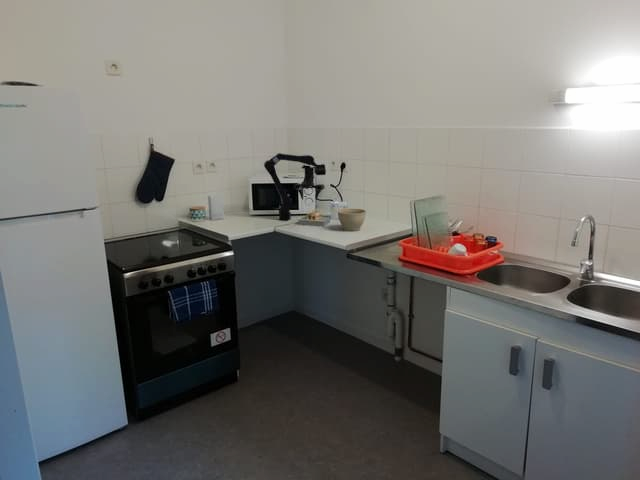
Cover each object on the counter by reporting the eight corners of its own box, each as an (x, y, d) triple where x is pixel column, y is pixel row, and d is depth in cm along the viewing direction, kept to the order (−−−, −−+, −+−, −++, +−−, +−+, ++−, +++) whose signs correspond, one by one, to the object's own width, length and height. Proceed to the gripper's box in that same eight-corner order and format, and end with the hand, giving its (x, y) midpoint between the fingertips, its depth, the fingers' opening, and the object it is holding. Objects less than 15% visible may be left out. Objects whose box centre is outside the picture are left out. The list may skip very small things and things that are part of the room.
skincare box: (221, 217, 322) (220, 193, 318) (224, 219, 316) (223, 195, 313) (208, 218, 318) (207, 194, 314) (211, 220, 313) (210, 196, 309)
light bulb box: (347, 217, 321) (347, 201, 318) (347, 219, 314) (347, 203, 311) (331, 217, 322) (331, 201, 319) (330, 219, 315) (330, 202, 312)
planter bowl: (345, 225, 298) (345, 207, 295) (370, 228, 290) (370, 210, 287) (332, 230, 284) (332, 211, 282) (357, 233, 276) (358, 214, 274)
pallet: (306, 219, 299) (306, 213, 298) (312, 216, 308) (312, 210, 307) (316, 220, 297) (316, 213, 296) (321, 217, 306) (321, 211, 305)
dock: (298, 224, 300) (298, 219, 299) (305, 220, 312) (305, 215, 311) (323, 226, 295) (323, 220, 294) (330, 222, 307) (330, 216, 306)
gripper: (290, 176, 307) (290, 201, 311) (318, 177, 301) (319, 202, 305) (297, 174, 317) (297, 198, 321) (324, 175, 311) (324, 200, 315)
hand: (309, 200), depth 315 cm, fingers open, 9 cm apart
